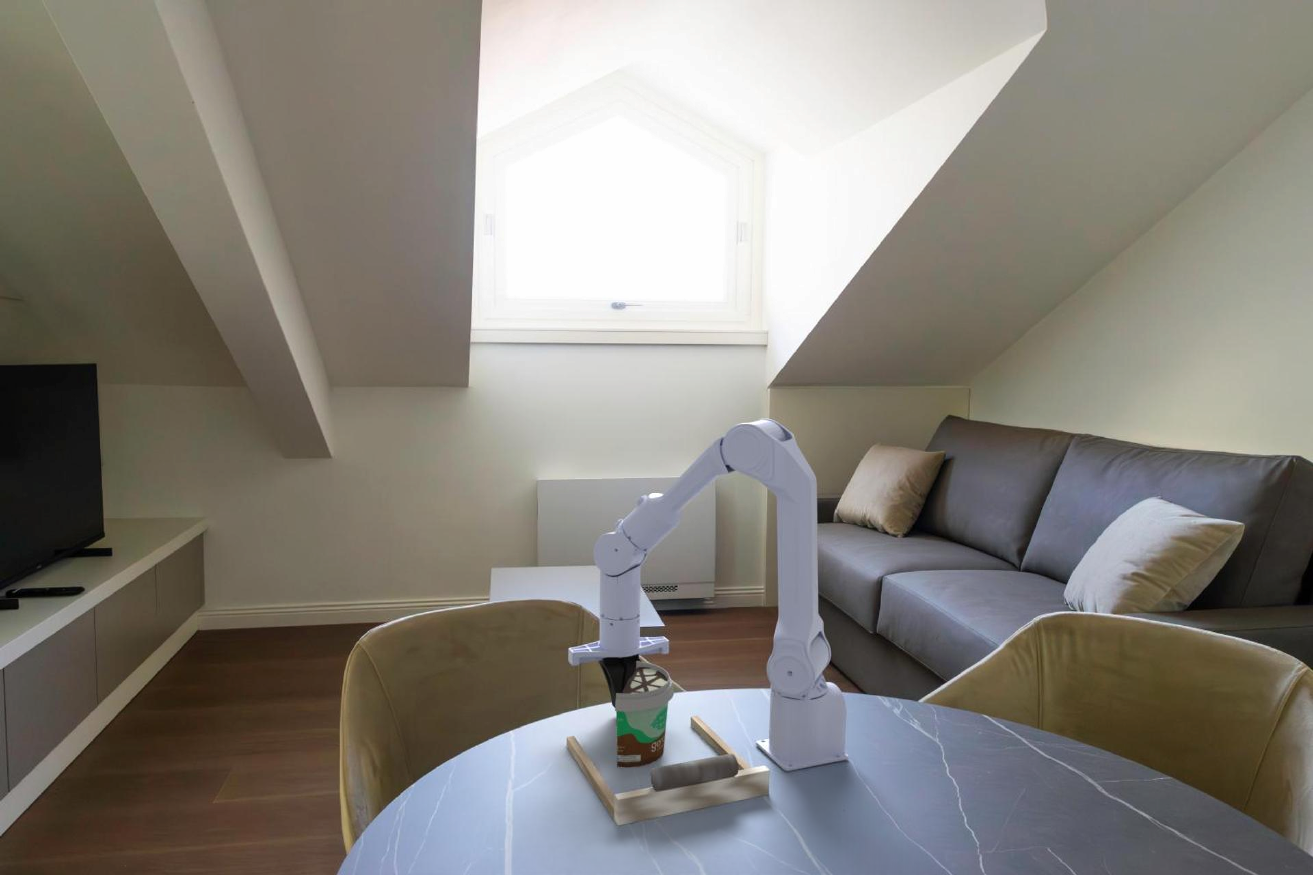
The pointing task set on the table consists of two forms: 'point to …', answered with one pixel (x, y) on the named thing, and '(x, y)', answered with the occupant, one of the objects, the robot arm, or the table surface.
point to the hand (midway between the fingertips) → (618, 706)
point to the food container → (642, 716)
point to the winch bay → (681, 782)
